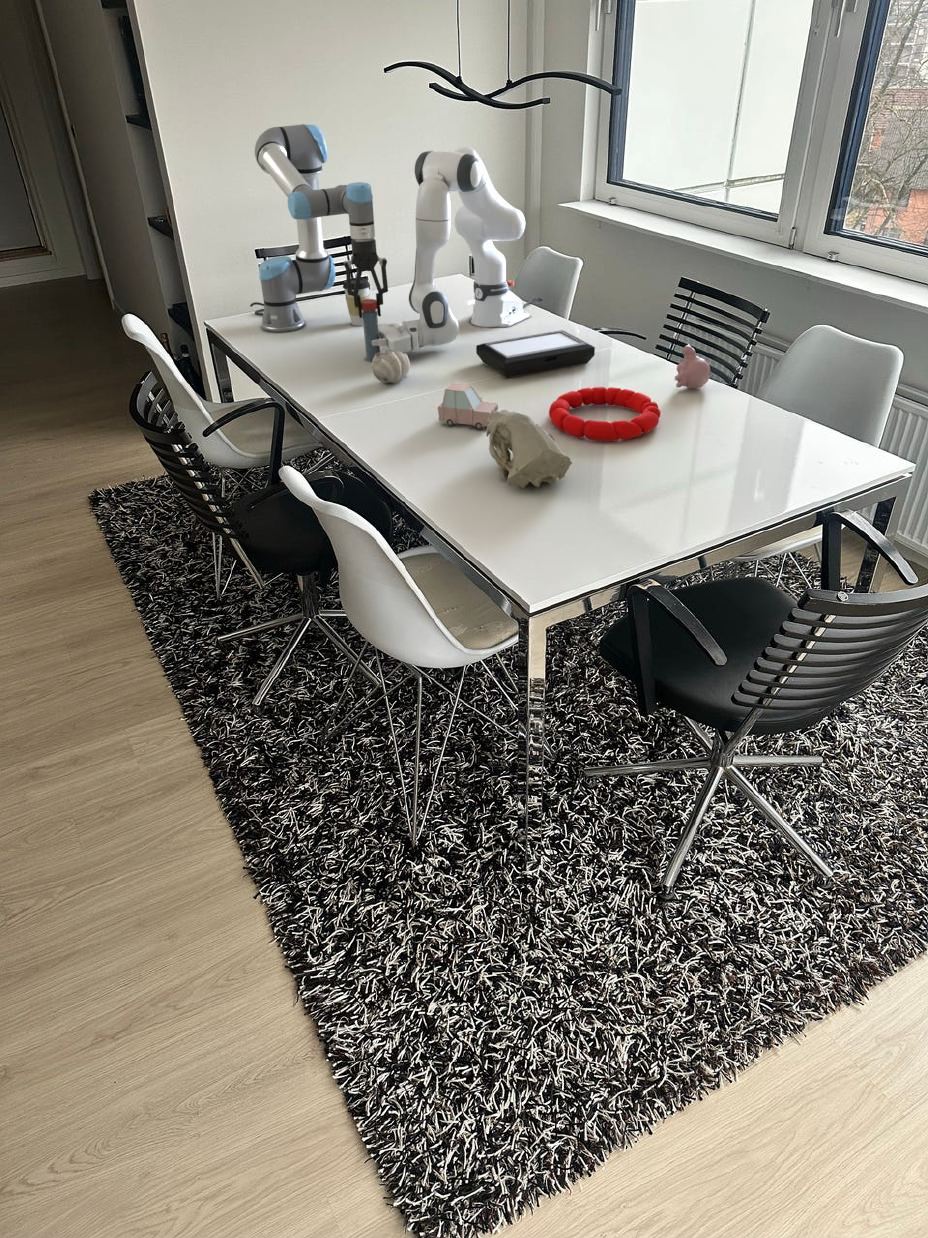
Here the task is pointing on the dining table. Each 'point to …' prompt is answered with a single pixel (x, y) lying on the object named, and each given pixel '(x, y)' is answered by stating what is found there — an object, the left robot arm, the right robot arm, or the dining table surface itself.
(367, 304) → the lid
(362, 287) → the coffee cup
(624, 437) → the decorative ring
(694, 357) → the figurine
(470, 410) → the toy car
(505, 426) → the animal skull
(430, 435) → the dining table surface
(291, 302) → the left robot arm
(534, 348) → the electronic device
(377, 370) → the seashell
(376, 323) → the jar
